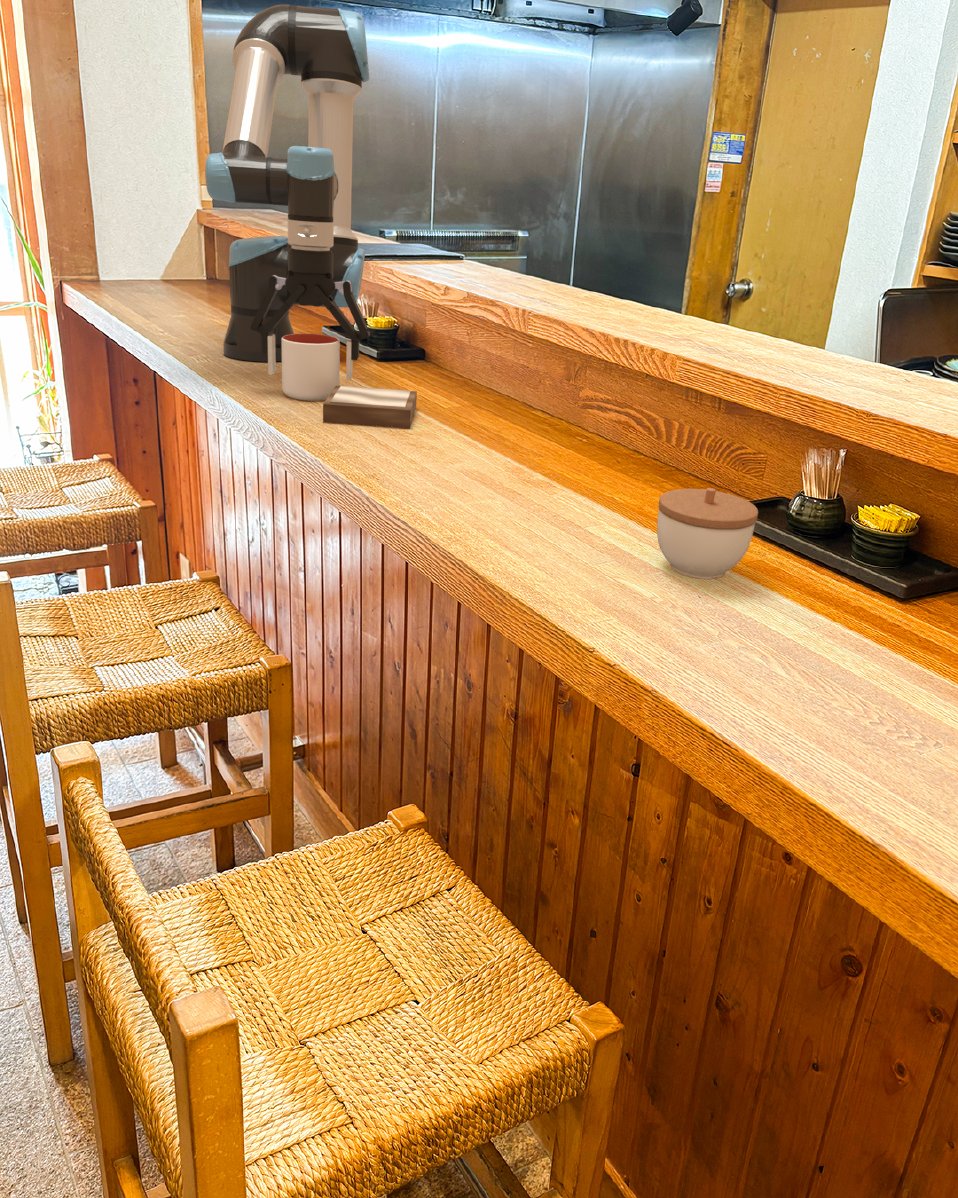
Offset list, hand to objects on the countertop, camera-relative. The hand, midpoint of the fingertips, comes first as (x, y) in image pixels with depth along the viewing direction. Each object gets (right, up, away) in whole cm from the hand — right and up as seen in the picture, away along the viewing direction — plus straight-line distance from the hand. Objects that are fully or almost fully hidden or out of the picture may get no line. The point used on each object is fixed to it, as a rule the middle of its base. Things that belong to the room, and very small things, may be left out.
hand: (310, 375), depth 172 cm
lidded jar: (+54, -36, -61) cm, 89 cm away
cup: (0, -3, +2) cm, 4 cm away
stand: (+12, -8, -8) cm, 16 cm away
